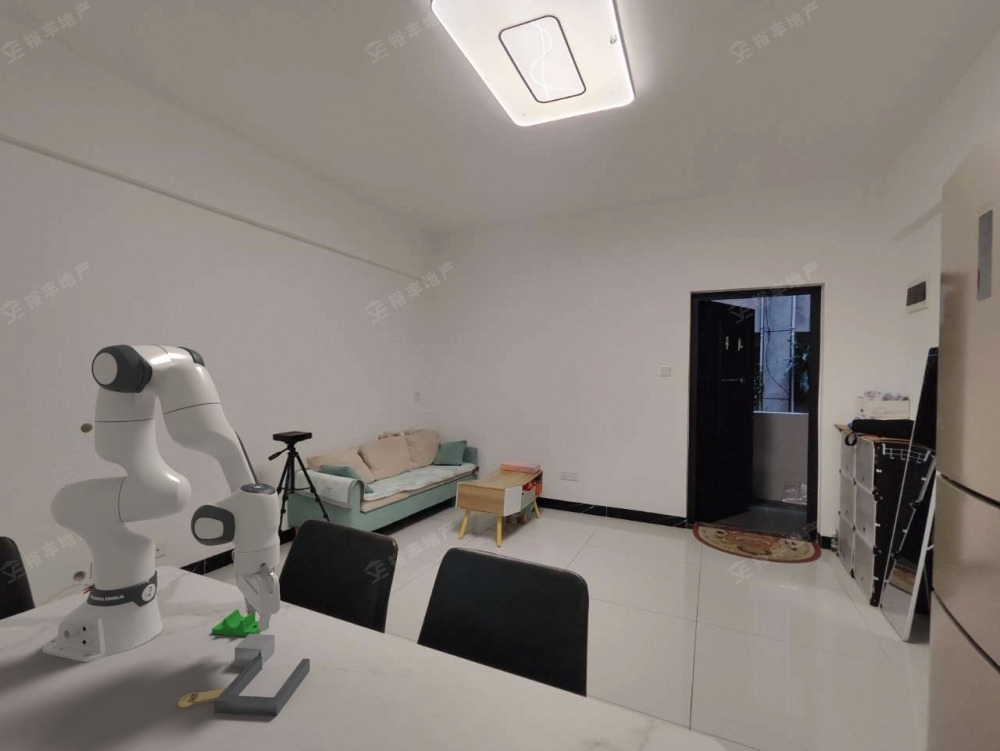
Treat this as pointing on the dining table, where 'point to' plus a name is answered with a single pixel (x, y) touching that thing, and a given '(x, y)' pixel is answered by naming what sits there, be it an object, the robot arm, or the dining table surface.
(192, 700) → the brass key
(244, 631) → the pipe clamp
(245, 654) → the block
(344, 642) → the dining table surface
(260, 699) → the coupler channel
